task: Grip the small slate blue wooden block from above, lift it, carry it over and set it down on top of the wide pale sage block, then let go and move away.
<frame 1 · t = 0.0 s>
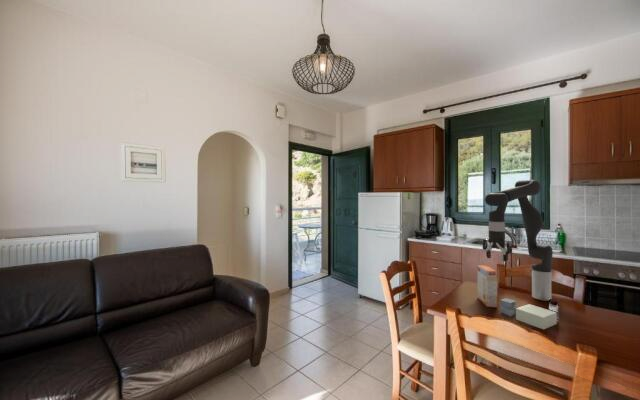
hand: (496, 259, 146), 29 cm above the table, tool pointing down, fingers open, 8 cm apart
cracker box: (487, 303, 160), on the table
sage block: (535, 322, 136), on the table
slate block: (508, 313, 146), on the table
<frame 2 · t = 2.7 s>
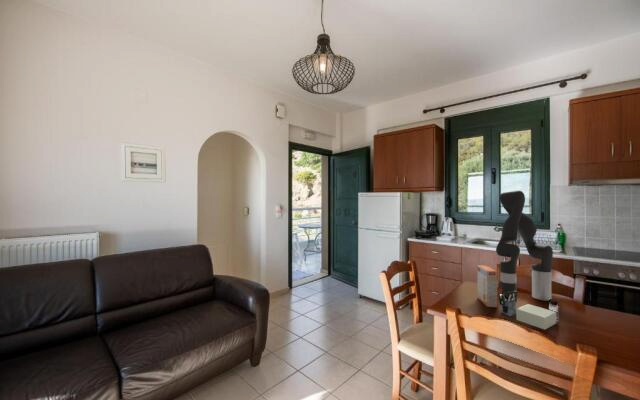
hand: (508, 311, 146), 1 cm above the table, tool pointing down, fingers closed on slate block, 5 cm apart
slate block: (508, 313, 146), on the table, touching gripper
everything else where it was.
when the fingers open (8 cm above the table, at t = 9.0 s): slate block drops 2 cm, resting on sage block.
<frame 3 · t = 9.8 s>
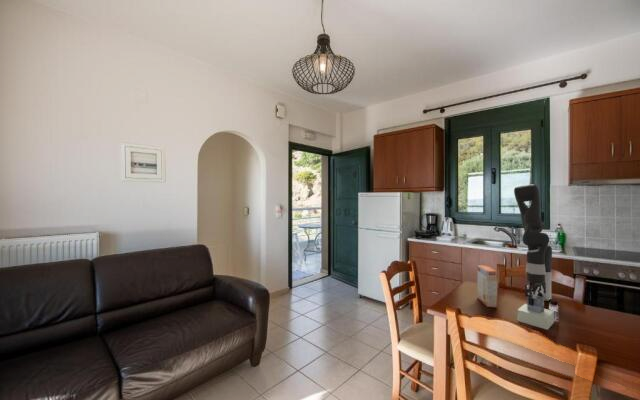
hand: (535, 303, 136), 9 cm above the table, tool pointing down, fingers open, 8 cm apart
sage block: (535, 322, 136), on the table, touching slate block
slate block: (535, 310, 136), point 6 cm above the table, touching sage block
everything else where it was.
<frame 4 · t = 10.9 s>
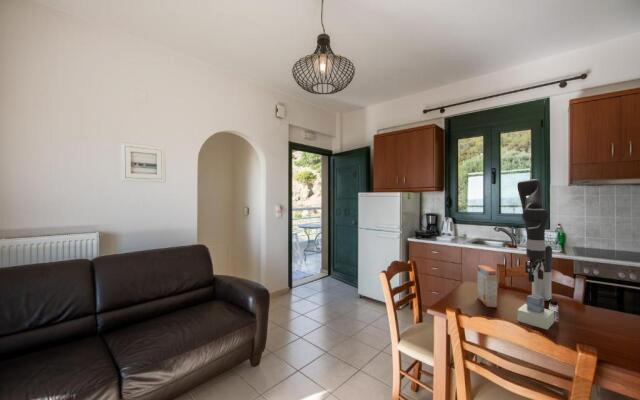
hand: (536, 280, 136), 21 cm above the table, tool pointing down, fingers open, 8 cm apart
nothing on the table moved.
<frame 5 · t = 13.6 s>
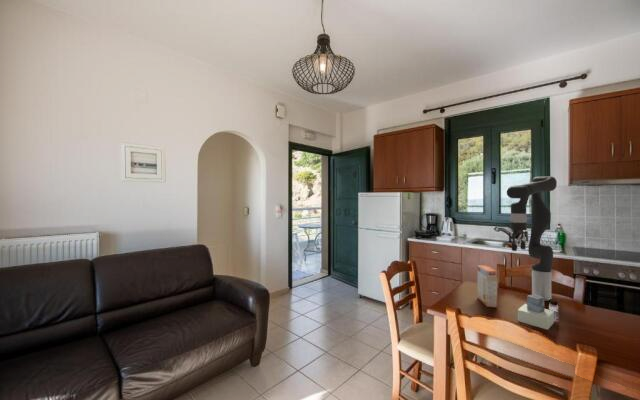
hand: (518, 249, 152), 33 cm above the table, tool pointing down, fingers open, 8 cm apart
nothing on the table moved.
at the end: slate block inside the target area on the sage block (0.1 cm from its centre), point 6.0 cm above the sage block's base; slate block tilted 0°; the gripper is holding nothing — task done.
